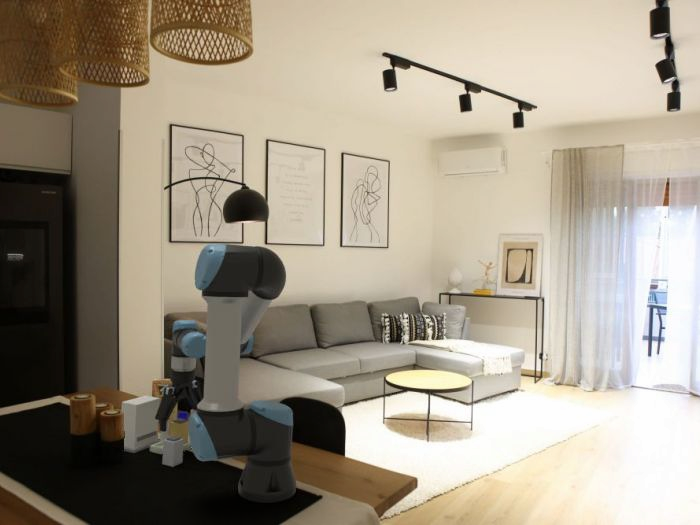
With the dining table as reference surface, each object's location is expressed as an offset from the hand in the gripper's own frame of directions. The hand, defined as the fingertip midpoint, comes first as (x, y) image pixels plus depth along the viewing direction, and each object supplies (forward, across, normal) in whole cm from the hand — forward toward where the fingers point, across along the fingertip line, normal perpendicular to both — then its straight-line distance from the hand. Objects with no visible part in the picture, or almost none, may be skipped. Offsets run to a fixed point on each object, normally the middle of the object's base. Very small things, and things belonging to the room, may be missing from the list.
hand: (179, 435), depth 178 cm
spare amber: (+3, 0, 0) cm, 3 cm away
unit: (+4, +6, -11) cm, 13 cm away
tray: (+4, 0, 0) cm, 4 cm away
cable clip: (+4, -9, -9) cm, 14 cm away
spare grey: (+4, +12, +8) cm, 15 cm away
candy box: (+4, -17, -22) cm, 28 cm away
